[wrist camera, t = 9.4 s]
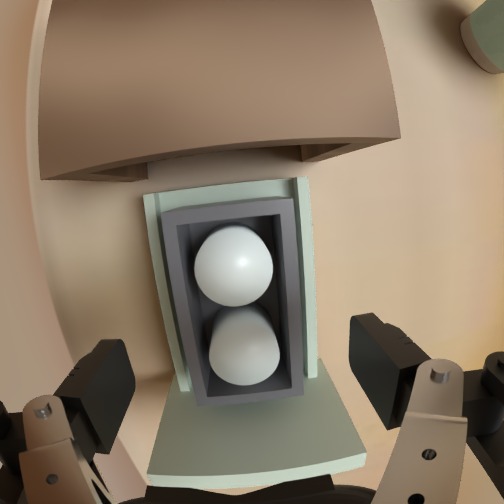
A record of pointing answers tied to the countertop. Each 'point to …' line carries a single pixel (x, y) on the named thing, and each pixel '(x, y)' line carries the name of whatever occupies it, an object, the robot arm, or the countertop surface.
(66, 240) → the countertop surface
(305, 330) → the pullout shelf
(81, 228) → the countertop surface
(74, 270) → the countertop surface
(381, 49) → the small wooden cabinet
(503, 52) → the coffee cup
